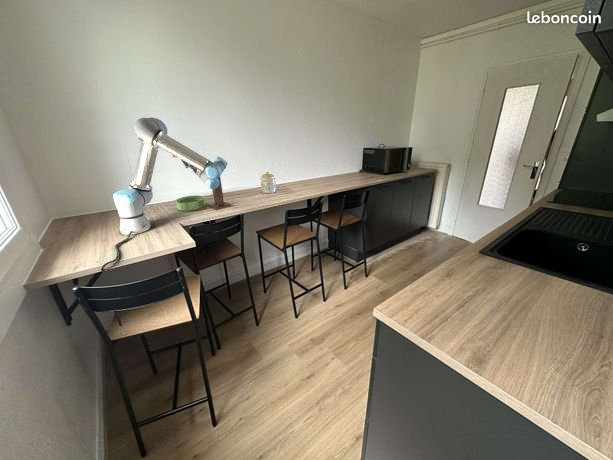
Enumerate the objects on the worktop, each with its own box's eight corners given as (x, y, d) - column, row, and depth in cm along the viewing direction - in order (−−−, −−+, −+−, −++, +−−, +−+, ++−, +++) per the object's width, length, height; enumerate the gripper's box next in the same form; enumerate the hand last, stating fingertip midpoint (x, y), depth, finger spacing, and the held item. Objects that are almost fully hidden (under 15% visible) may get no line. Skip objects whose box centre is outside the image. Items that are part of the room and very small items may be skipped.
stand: (231, 205, 189) (225, 165, 177) (216, 209, 181) (210, 167, 169) (222, 202, 197) (216, 163, 184) (208, 206, 188) (201, 166, 176)
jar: (273, 189, 234) (272, 170, 227) (278, 192, 223) (277, 172, 216) (259, 190, 229) (258, 171, 222) (263, 194, 218) (262, 173, 211)
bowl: (207, 208, 184) (206, 200, 182) (178, 213, 176) (176, 204, 173) (203, 201, 200) (202, 194, 197) (176, 205, 191) (174, 197, 189)
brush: (192, 157, 168) (191, 151, 167) (184, 158, 164) (182, 152, 163) (181, 156, 179) (180, 150, 177) (172, 157, 174) (171, 151, 173)
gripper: (189, 178, 158) (170, 157, 166) (211, 174, 169) (193, 154, 177) (189, 168, 153) (170, 147, 161) (212, 164, 164) (193, 145, 172)
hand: (182, 151), depth 169 cm, fingers closed on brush, 2 cm apart
